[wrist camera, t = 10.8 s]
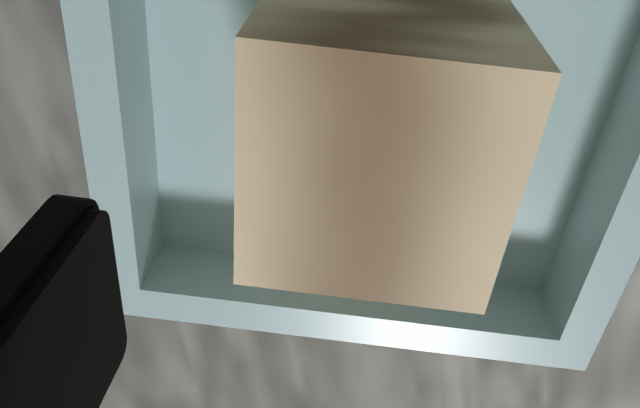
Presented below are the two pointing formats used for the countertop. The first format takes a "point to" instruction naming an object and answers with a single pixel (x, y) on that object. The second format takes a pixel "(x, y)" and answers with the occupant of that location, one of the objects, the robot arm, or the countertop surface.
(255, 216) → the birch block
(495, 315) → the teal tray
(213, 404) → the countertop surface
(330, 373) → the countertop surface
